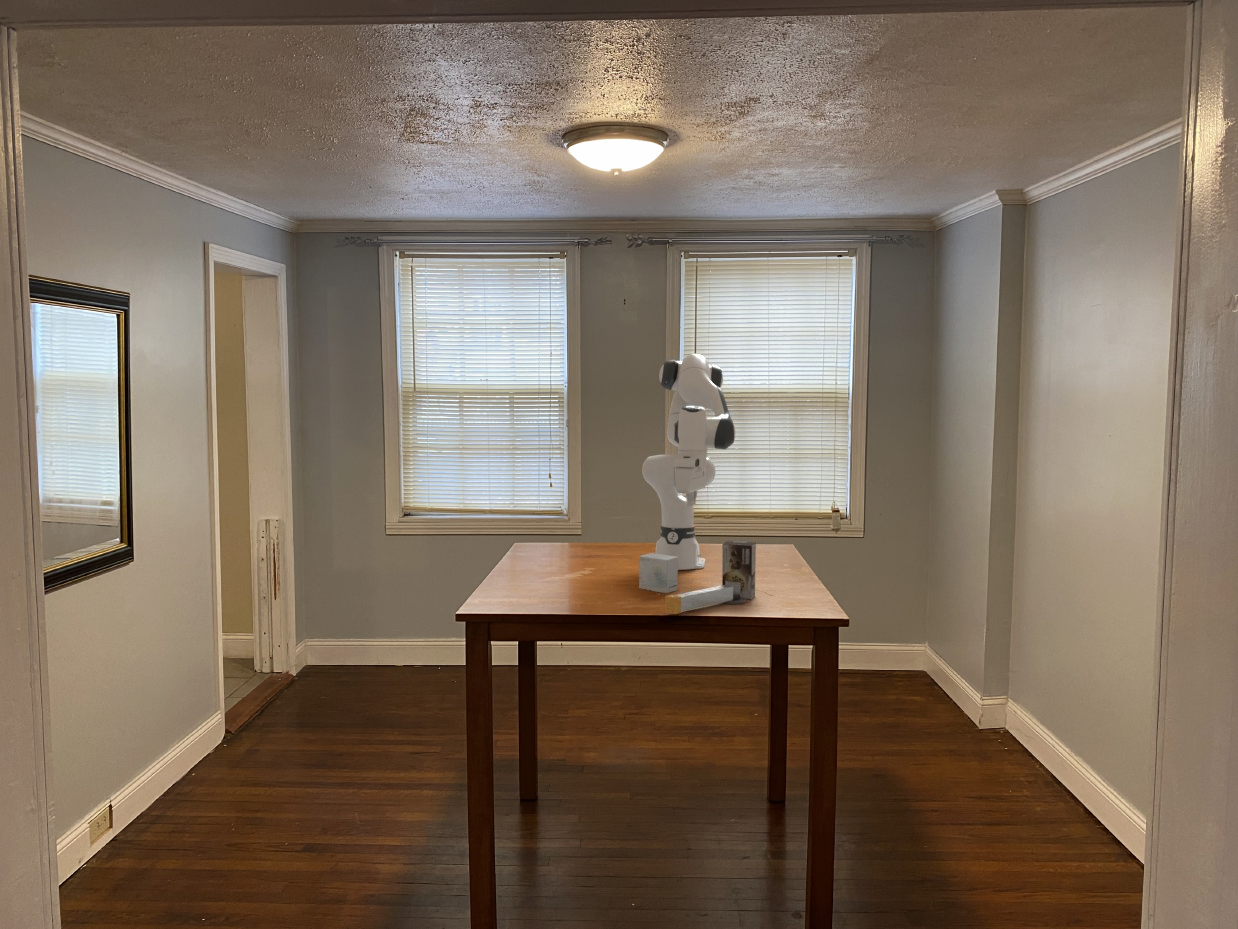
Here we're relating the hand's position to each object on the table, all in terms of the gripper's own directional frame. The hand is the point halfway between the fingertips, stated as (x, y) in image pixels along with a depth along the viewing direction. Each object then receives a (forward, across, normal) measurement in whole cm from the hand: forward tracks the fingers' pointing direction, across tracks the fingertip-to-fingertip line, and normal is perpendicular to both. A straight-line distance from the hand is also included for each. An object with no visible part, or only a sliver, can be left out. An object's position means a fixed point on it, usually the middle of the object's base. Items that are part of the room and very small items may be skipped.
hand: (691, 505), depth 267 cm
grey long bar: (+26, +18, +10) cm, 33 cm away
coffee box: (+27, -1, +15) cm, 30 cm away
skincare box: (+27, 0, -10) cm, 28 cm away
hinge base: (+26, +7, +15) cm, 31 cm away
